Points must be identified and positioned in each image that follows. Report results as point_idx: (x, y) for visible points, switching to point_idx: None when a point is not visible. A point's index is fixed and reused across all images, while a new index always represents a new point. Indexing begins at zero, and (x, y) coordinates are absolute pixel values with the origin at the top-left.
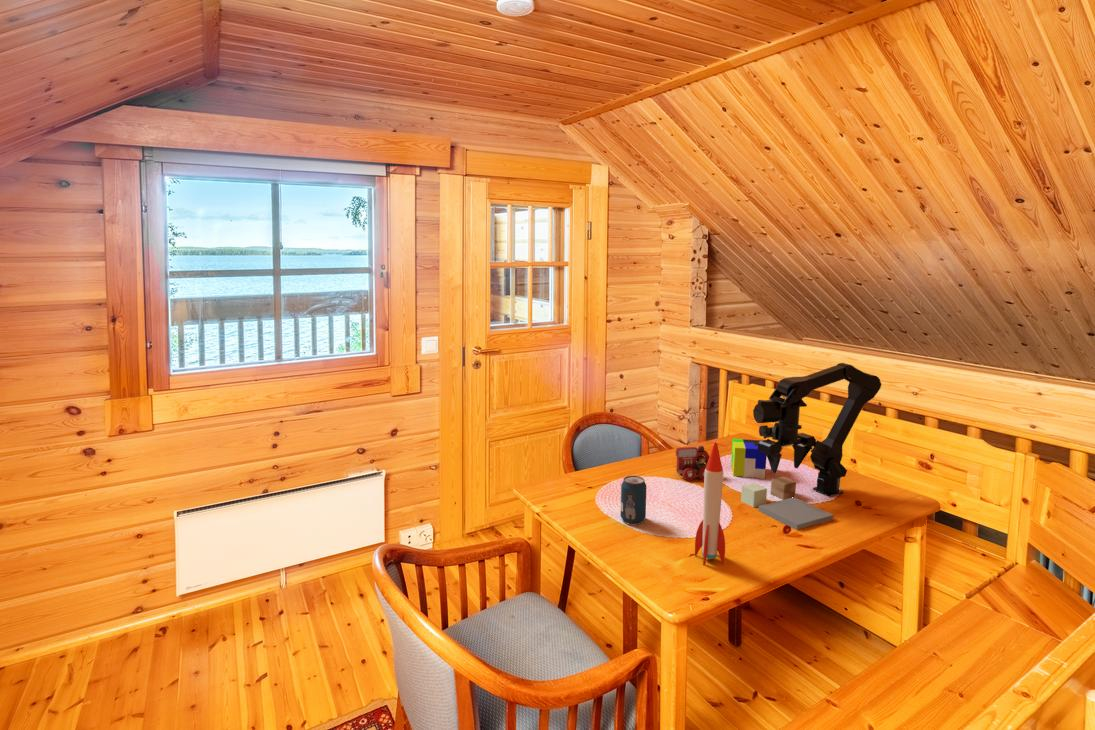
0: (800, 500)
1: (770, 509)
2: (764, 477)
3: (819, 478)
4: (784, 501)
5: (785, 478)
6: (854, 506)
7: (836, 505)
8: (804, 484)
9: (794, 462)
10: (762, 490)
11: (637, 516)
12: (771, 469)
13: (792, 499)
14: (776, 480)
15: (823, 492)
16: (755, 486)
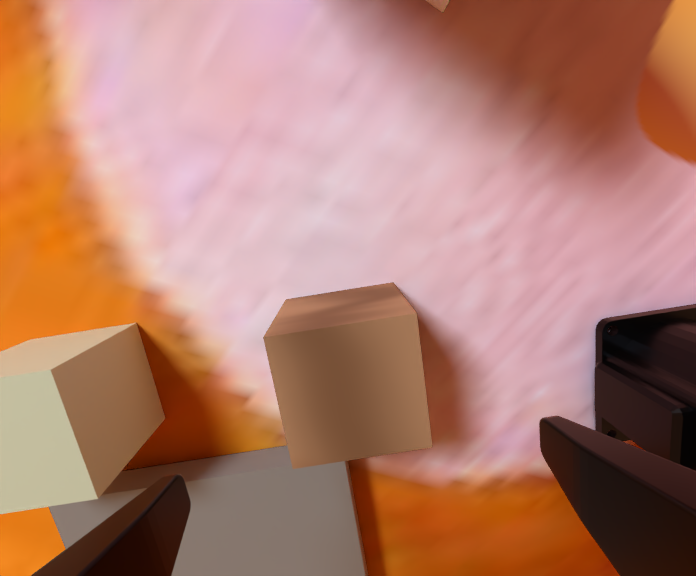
0: (349, 506)
1: None
2: (441, 5)
3: (677, 428)
4: (244, 492)
5: (398, 360)
6: (606, 558)
7: (532, 528)
8: (626, 223)
9: (587, 460)
10: (55, 499)
11: None
12: (130, 505)
13: (313, 481)
14: (287, 376)
15: (598, 413)
16: (19, 439)
